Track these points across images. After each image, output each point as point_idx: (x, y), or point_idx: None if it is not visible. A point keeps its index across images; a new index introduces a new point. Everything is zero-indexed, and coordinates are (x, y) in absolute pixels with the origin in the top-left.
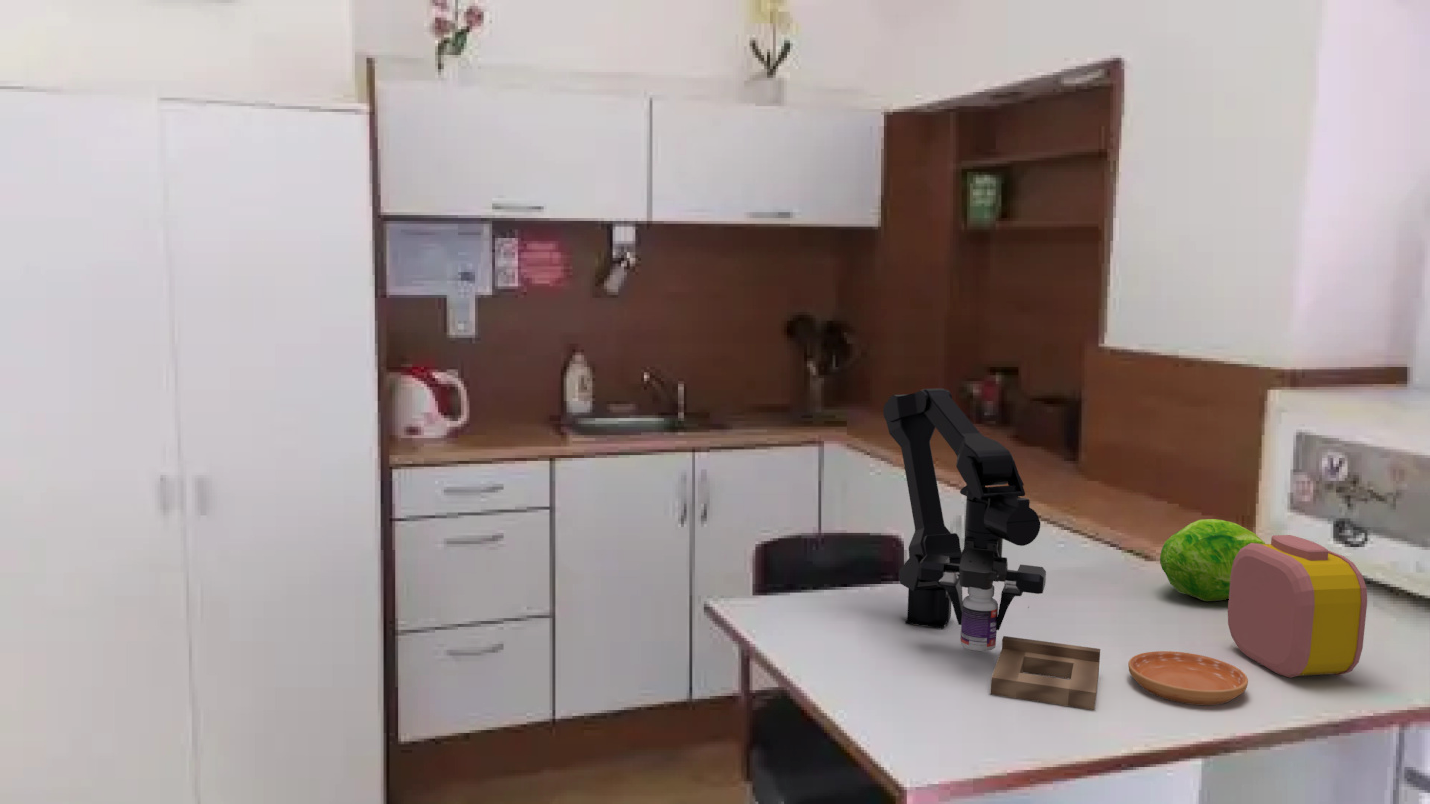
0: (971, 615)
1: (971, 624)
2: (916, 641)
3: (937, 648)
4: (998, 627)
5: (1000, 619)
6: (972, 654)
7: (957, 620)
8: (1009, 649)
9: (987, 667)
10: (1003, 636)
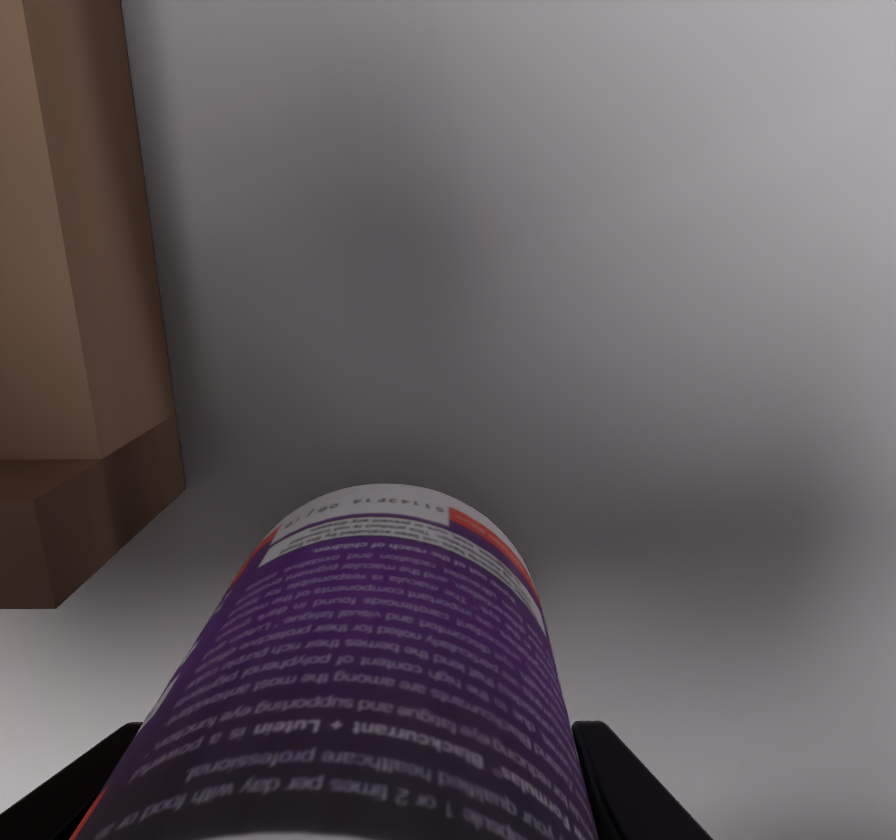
0: (427, 742)
1: (424, 631)
2: (870, 643)
3: (703, 564)
4: (114, 741)
5: (10, 831)
6: None
7: (632, 753)
8: (24, 463)
9: (261, 307)
10: (50, 592)
